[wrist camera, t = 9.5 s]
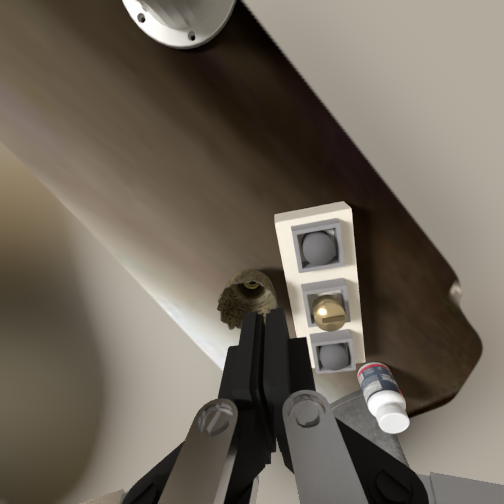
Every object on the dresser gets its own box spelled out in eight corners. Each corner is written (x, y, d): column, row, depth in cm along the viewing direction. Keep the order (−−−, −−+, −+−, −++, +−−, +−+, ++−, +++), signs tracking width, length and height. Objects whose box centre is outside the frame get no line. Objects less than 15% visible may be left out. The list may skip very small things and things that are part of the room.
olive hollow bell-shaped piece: (285, 267, 40) (288, 296, 33) (266, 307, 43) (264, 342, 35) (237, 248, 40) (228, 273, 32) (220, 290, 42) (209, 322, 35)
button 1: (316, 338, 39) (319, 351, 37) (342, 335, 39) (347, 347, 37) (319, 358, 41) (322, 371, 38) (345, 355, 40) (349, 369, 38)
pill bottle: (396, 373, 46) (423, 425, 38) (371, 390, 48) (391, 442, 39) (375, 355, 45) (398, 404, 37) (350, 373, 46) (366, 423, 38)
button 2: (299, 231, 34) (301, 238, 31) (329, 226, 33) (333, 233, 31) (303, 258, 35) (305, 267, 33) (332, 253, 35) (337, 262, 32)
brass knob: (310, 296, 35) (313, 309, 32) (339, 292, 34) (345, 305, 32) (314, 320, 36) (317, 334, 34) (342, 316, 36) (348, 330, 33)
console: (274, 214, 37) (274, 227, 32) (343, 201, 36) (356, 212, 31) (300, 350, 45) (304, 379, 40) (357, 343, 44) (369, 372, 39)
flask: (301, 418, 51) (315, 553, 34) (369, 381, 47) (422, 515, 30) (314, 429, 52) (333, 566, 35) (381, 394, 48) (439, 531, 31)
